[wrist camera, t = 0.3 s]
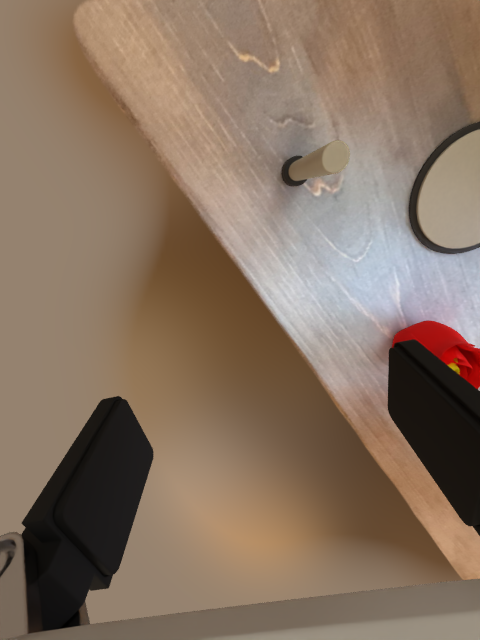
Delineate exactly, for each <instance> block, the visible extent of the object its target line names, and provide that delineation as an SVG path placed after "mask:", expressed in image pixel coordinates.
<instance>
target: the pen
mask: <svg viewBox="0 0 480 640" xmlns="http://www.w3.org/2000/svg"><path fill="white" fill-rule="evenodd" d="M349 159H350V151H349V148H348V146H347V144H346V143H344V142H343V141H339V140H337V141H333V142H331V143H329V144H327V145H325V146H323V147H321V148H319V149H317V150H316V151H314V152H312V153H310V154H308V155H306V156H304V157H302V156H294V157H292V158H290V159H289V160H287V161H286V162H285V164H284V165H283V168H282V179H283V181H284V182H285V183H286V184H287V185H289V186H299V185H301V184H303V183H304V182H305V181H306V180H307V179H310V178H315V177H320V176H325V175H330V174H336V173H339V172H341V171H342V170H343V169H344V168H345V167H346V166H347V164H348V162H349Z"/></svg>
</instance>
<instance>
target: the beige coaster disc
mask: <svg viewBox="0 0 480 640" xmlns="http://www.w3.org/2000/svg"><path fill="white" fill-rule="evenodd" d="M409 216H410V222H411V226H412V229H413V231H414V233H415V235H416V236H417V238H418V239H419V240H420V241H421V242H422V243H423V244H424V245H425V246H427V247H428V248H430V249H432V250H434V251H437V252H441V253H448V254H454V253H462V252H467V251H470V250H473V249H476V248H478V247H480V122H477V123H474V124H471V125H469V126H467V127H465V128H463V129H461V130H459V131H458V132H456V133H454V134H453V135H452V136H450V137H449V138H448V139H446V140H445V141H444V142H443V143H442V144H441V145H440V146H439V147H438V148H437V149H436V150H435V151H434V152H433V153H432V154H431V155H430V157H429V158H428V160H427V161H426V162H425V164H424V165H423V167H422V169H421V170H420V172H419V174H418V176H417V178H416V181H415V183H414V186H413V189H412V193H411V197H410V205H409Z"/></svg>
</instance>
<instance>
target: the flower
mask: <svg viewBox="0 0 480 640" xmlns="http://www.w3.org/2000/svg"><path fill="white" fill-rule="evenodd" d="M412 339H415V340H417V341H418V342H419V343H421V344H422V345H423V346H424V347H426V348H427V349H428V350H429V351H430V352H432V353H433V354H434V355H435V356H437V357H438V358H439V359H440V360H441V361H443V362H444V363H445V364H446V365H448V366H449V367H450V368H451V369H452V370H454V371H455V372H456V373H457V374H459V375H460V376H461V377H462V378H464V379H465V380H466V381H468V382H469V383H470V384H471V385H473V386H474V387H475V388H476V389H478V388H479V387H480V349H478V348H474V346H475V345H472V344H469V343H468V342H467V341H466V340H465V339H464V338H463V337H462V336H461V335H460V334H459V333H458V332H457V331H455V330H454V329H452V328H450V327H448V326H446V325H444V324H441V323H438V322H435V321H423V322H420V323H417V324H414V325H412V326H410V327H408V328H405V329H403V330H401V331H399V332H398V333H397V334H396V335H395V336H394V339H393V344H392V348H393V347H394V344H395V343H396V342H401V341H407V340H412ZM472 346H473V347H472Z"/></svg>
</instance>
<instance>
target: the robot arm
mask: <svg viewBox="0 0 480 640" xmlns="http://www.w3.org/2000/svg"><path fill="white" fill-rule="evenodd" d="M388 411H389V414H390V416H391V418H392V420H393V421H394V423H395V424H396V425H397V427H398V428H399V430H400V431H401V433H402V434H403V436H404V437H405V439H406V440H407V441H408V443H409V444H410V446H411V447H412V449H413V450H414V452H415V453H416V454H417V456H418V457H419V459H420V460H421V462H422V463H423V465H424V466H425V468H426V469H427V470H428V472H429V473H430V475H431V476H432V478H433V479H434V481H435V482H436V483H437V485H438V486H439V488H440V489H441V491H442V492H443V494H444V495H445V496H446V498H447V499H448V501H449V502H450V504H451V505H452V507H453V508H454V510H455V511H456V512H457V514H458V515H459V517H460V518H461V519H462V521H463V522H464V523H465V524H466V525H468V526H473V527H474V529H475V530H476V531H477V533H478V534H479V536H480V391H479V390H478V389H476V388H475V387H474V386H473V385H471V384H470V383H469V382H468V381H466V380H465V379H464V378H462V377H461V376H460V375H459V374H457V373H456V372H455V371H454V370H452V369H451V368H450V367H449V366H448V365H446V364H445V363H444V362H443V361H441V360H440V359H439V358H438V357H437V356H435V355H434V354H433V353H432V352H430V351H429V350H428V349H427V348H426V347H424V346H423V345H422V344H421V343H419V342H418V341H417V340H415V339H412V340H407V341H401V342H396V343H395V344H394V347H393V348H390V350H389V375H388ZM152 460H153V449H152V447H151V445H150V443H149V441H148V439H147V438H146V435H145V434H144V432H143V430H142V428H141V426H140V424H139V423H138V421H137V419H136V417H135V415H134V413H133V411H132V409H131V408H130V406H129V404H128V402H127V401H126V400H125V399H122V398H121V397H119V396H117V397H113V398H107V399H103V400H101V401H100V403H99V404H98V406H97V408H96V409H95V410H94V412H93V414H92V415H91V417H90V418H89V420H88V421H87V423H86V424H85V426H84V427H83V429H82V431H81V432H80V434H79V435H78V437H77V438H76V440H75V441H74V443H73V444H72V446H71V447H70V449H69V451H68V452H67V454H66V455H65V457H64V458H63V460H62V462H61V463H60V465H59V466H58V468H57V469H56V471H55V472H54V474H53V476H52V477H51V478H50V480H49V481H48V483H47V485H46V486H45V488H44V489H43V491H42V492H41V494H40V496H39V497H38V498H37V500H36V502H35V503H34V505H33V506H32V508H31V509H30V511H29V513H28V514H27V516H26V517H25V519H24V520H23V522H22V524H23V525H24V526H25V527H26V528H25V530H24V531H23V533H22V535H21V534H19V533H17V532H11V533H7V534H4V535H2V536H0V640H480V579H472V580H461V581H450V582H441V583H432V584H424V585H415V586H406V587H397V588H388V589H380V590H370V591H361V592H353V593H344V594H335V595H326V596H318V597H309V598H301V599H292V600H284V601H276V602H267V603H259V604H251V605H243V606H235V607H225V608H218V609H209V610H201V611H193V612H184V613H176V614H168V615H161V616H152V617H144V618H137V619H129V620H120V621H112V622H104V623H96V624H90V623H89V617H88V613H87V608H86V603H85V599H86V596H87V593H88V591H89V589H90V590H99V589H106V588H109V586H110V582H111V579H112V576H113V574H115V573H116V572H117V570H118V569H119V566H120V563H121V560H122V557H123V554H124V550H125V547H126V544H127V541H128V538H129V534H130V531H131V528H132V525H133V522H134V518H135V515H136V512H137V509H138V505H139V502H140V499H141V496H142V493H143V489H144V486H145V483H146V480H147V476H148V473H149V470H150V467H151V464H152Z"/></svg>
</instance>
